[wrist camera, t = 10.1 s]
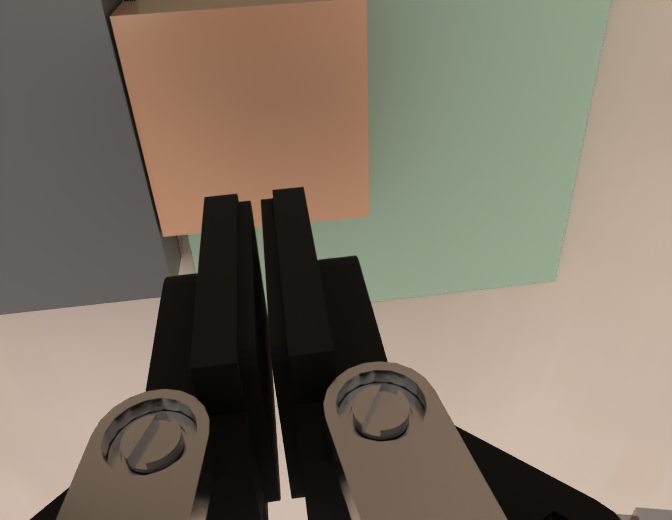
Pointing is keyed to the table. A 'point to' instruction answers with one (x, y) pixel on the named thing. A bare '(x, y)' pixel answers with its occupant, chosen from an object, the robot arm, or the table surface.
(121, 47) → the terracotta tile
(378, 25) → the mat
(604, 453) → the table surface
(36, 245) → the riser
